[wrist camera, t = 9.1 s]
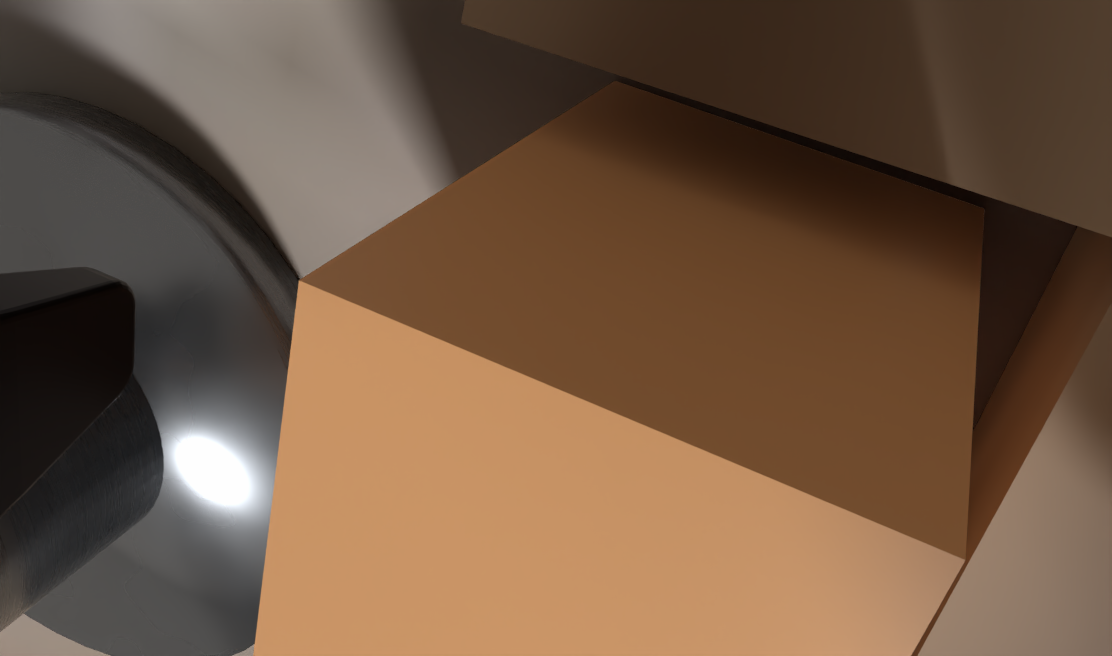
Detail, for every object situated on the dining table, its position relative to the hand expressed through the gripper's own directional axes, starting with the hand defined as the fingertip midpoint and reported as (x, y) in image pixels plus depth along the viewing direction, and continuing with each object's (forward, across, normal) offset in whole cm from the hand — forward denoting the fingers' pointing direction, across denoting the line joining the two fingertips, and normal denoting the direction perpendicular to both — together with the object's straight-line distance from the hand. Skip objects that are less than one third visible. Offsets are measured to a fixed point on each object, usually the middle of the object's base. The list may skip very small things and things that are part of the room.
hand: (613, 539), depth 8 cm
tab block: (+5, 0, 0) cm, 5 cm away
